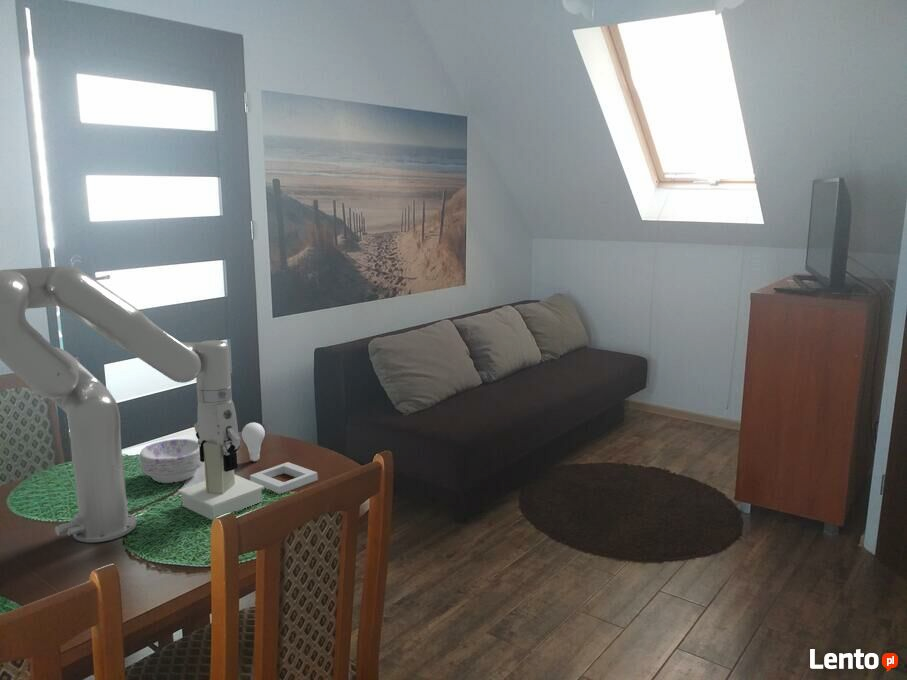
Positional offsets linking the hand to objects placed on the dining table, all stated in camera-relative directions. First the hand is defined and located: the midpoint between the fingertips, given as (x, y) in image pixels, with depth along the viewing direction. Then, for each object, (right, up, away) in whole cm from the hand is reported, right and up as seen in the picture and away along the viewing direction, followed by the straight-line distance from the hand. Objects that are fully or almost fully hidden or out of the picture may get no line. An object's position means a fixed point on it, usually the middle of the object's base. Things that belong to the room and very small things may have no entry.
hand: (218, 465), depth 169 cm
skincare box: (0, -6, +1) cm, 6 cm away
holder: (+12, -7, +16) cm, 21 cm away
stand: (0, -10, +2) cm, 10 cm away
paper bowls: (-18, -7, +19) cm, 27 cm away
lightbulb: (0, -4, +30) cm, 30 cm away
